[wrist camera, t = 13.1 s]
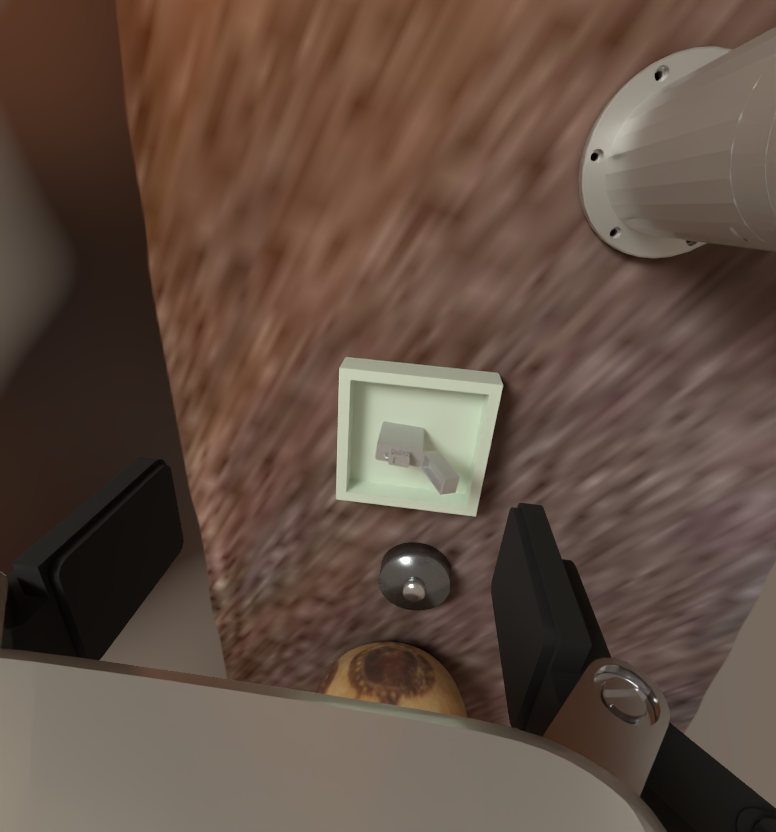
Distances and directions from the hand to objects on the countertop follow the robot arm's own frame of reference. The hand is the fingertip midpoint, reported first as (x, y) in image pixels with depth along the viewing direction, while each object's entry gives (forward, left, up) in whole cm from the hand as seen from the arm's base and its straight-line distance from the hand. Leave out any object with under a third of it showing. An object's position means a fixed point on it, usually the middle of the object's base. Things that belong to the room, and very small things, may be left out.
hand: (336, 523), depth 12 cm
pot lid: (-4, +30, -28) cm, 41 cm away
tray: (-2, +12, -28) cm, 31 cm away
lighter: (-2, +12, -28) cm, 30 cm away
